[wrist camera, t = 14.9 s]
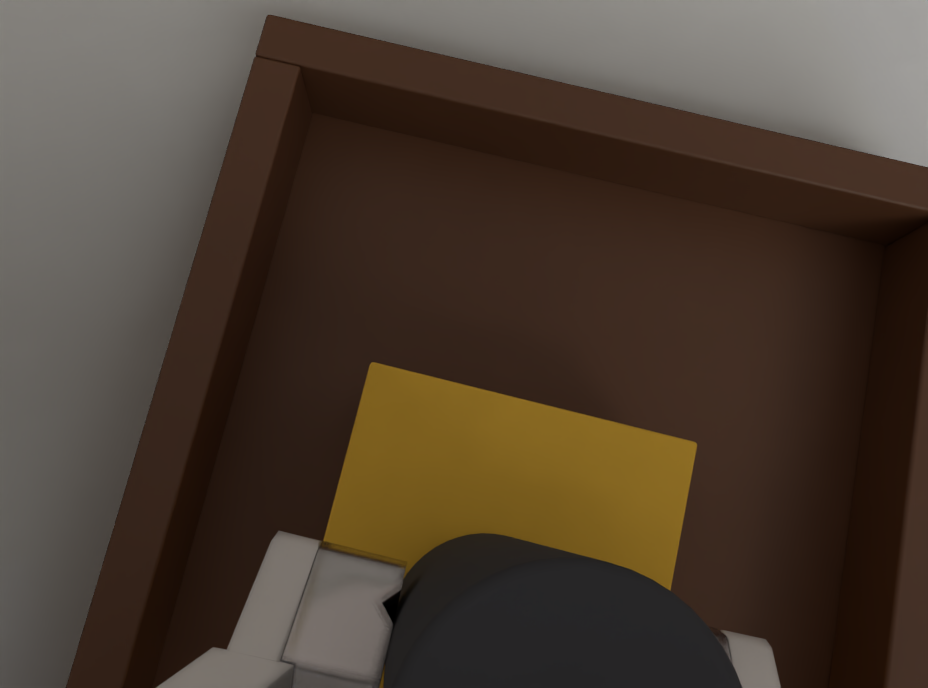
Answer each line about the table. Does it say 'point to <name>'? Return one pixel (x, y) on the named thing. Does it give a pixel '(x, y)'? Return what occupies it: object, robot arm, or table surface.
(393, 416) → the yellow block with peg
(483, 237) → the tray
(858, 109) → the table surface
